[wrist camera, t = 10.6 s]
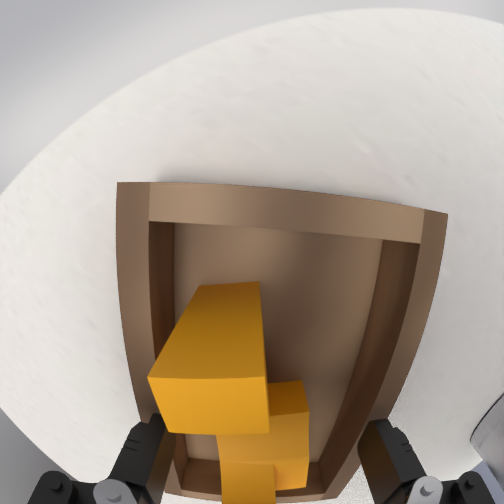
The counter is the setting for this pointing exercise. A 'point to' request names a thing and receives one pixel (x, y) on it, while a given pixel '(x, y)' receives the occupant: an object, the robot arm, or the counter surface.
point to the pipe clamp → (233, 394)
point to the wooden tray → (282, 304)
